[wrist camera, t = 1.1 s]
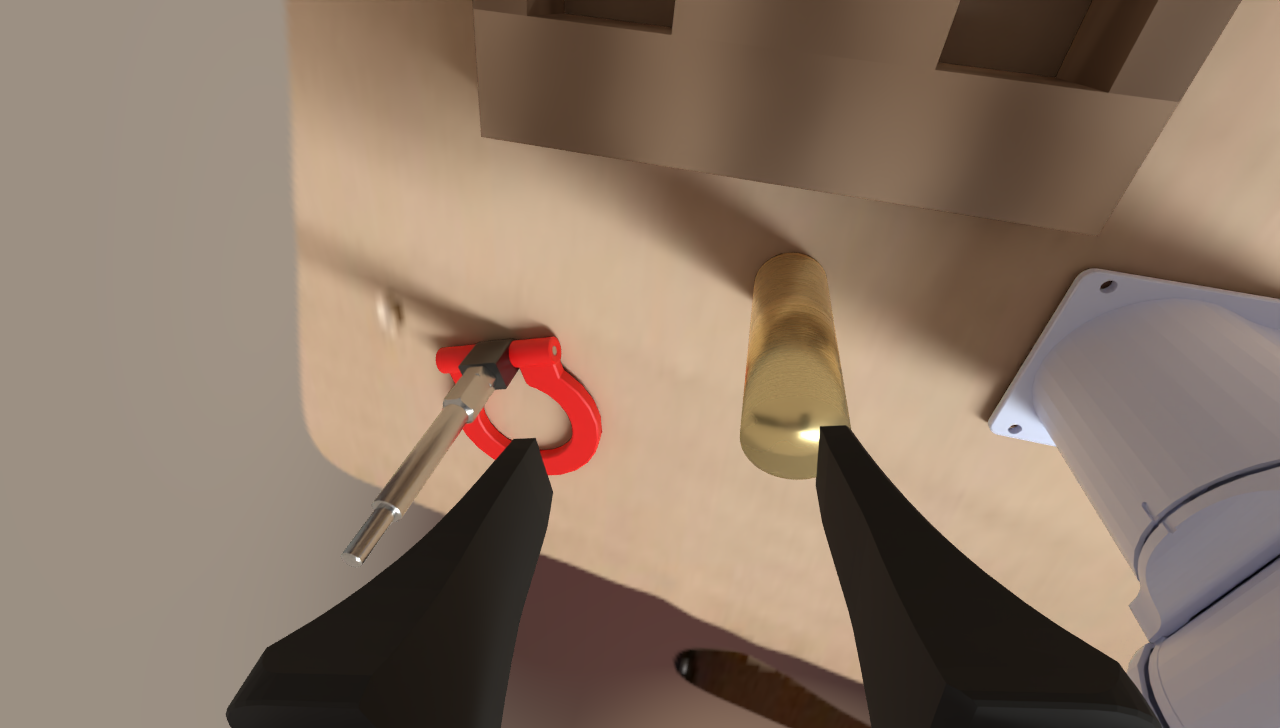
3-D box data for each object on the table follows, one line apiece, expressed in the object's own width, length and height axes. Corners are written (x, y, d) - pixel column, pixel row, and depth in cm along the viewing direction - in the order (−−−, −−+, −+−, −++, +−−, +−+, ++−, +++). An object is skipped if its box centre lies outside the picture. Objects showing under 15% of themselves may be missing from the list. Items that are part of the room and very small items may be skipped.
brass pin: (836, 259, 22) (868, 410, 14) (815, 322, 24) (833, 489, 16) (762, 246, 23) (752, 386, 14) (747, 309, 24) (730, 466, 16)
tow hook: (621, 460, 32) (572, 326, 27) (544, 695, 22) (444, 550, 17) (495, 463, 34) (430, 341, 29) (375, 674, 24) (245, 542, 19)
